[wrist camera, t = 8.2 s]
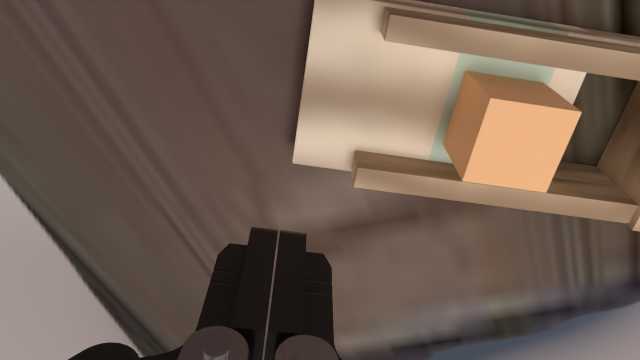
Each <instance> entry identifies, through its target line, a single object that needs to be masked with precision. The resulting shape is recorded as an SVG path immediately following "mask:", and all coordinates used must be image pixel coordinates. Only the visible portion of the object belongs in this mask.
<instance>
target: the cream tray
mask: <svg viewBox="0 0 640 360" xmlns="http://www.w3.org/2000/svg"><path fill="white" fill-rule="evenodd" d="M465 70H466V71H472V72H479V73H485V74H492V75H498V76H504V77H511V78H517V79H524V80H530V81H537V82H543V83H545V84H546V85H547V86H549V87H550V88H551V89H553V90H554V91H555V92H557V93H558V94H559V95H560V96H562V97H563V98H564V99H566V100H567V101H568V102H570V103H571V104H572V105H573V103H574V101H575V98H576V96H577V94H578V91H579V89H580V87H581V84H582V82H583V80H584V77H585V75H586V73H593V74H599V75H606V76H612V77H619V78H625V79H631V80H638V82H637V84H636V86H635V88H634V90H633V92H632V94H631V96H630V98H629V100H628V102H627V104H626V107H625V109H624V111H623V113H622V115H621V117H620V119H619V121H618V123H617V125H616V127H615V129H614V131H613V133H612V135H611V137H610V139H609V142H608V144H607V146H606V148H605V150H604V152H603V154H602V156H601V158H600V160H599V162H598V164H597V166H590V165H583V164H576V163H569V162H562V161H560V163H559V165H558V167H557V169H556V172H555V174H554V176H553V178H552V181H551V183H550V185H549V187H548V190H547V192H546V193H544V192H537V191H529V190H522V189H515V188H508V187H500V186H493V185H486V184H479V183H472V182H464V181H462V180H461V178H460V176H459V174H458V172H457V170H456V168H455V167H454V165H453V163H452V161H451V159H450V157H449V155H448V153H447V151H446V150H445V148H444V146H443V141H444V138H445V135H446V132H447V128H448V125H449V122H450V119H451V115H452V112H453V109H454V106H455V102H456V99H457V96H458V93H459V89H460V86H461V83H462V79H463V76H464V73H465ZM292 163H294V164H301V165H309V166H316V167H324V168H331V169H339V170H346V171H352V178H353V186H354V187H357V188H365V189H373V190H380V191H388V192H395V193H403V194H410V195H418V196H425V197H433V198H441V199H448V200H456V201H463V202H471V203H478V204H486V205H493V206H501V207H509V208H516V209H524V210H531V211H539V212H546V213H554V214H561V215H569V216H577V217H584V218H592V219H599V220H607V221H614V222H622V223H625V224H626V225H627V226H628V227H629V228H630V229H631V230H634V231H640V37H637V36H630V35H624V34H618V33H612V32H606V31H600V30H593V29H587V28H581V27H575V26H569V25H563V24H557V23H550V22H544V21H538V20H532V19H526V18H520V17H513V16H507V15H501V14H495V13H489V12H483V11H477V10H470V9H464V8H458V7H452V6H446V5H440V4H433V3H427V2H421V1H415V0H314V7H313V14H312V22H311V29H310V36H309V43H308V50H307V58H306V65H305V72H304V79H303V87H302V94H301V101H300V108H299V115H298V123H297V130H296V137H295V144H294V153H293V162H292Z"/></svg>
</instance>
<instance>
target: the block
mask: <svg viewBox="0 0 640 360" xmlns="http://www.w3.org/2000/svg"><path fill="white" fill-rule="evenodd" d="M581 113H582V112H581V111H580V110H579V109H577V108H576V107H575V106H574V105H572V104H571V103H570V102H568V101H567V100H566V99H564V98H563V97H562V96H560V95H559V94H558V93H557V92H555V91H554V90H553V89H551V88H550V87H549V86H547V85H546V84H545V83H543V82H537V81H530V80H524V79H517V78H511V77H504V76H498V75H492V74H485V73H479V72H472V71H466V70H465V73H464V76H463V79H462V83H461V86H460V89H459V93H458V96H457V99H456V102H455V106H454V109H453V112H452V115H451V119H450V122H449V125H448V128H447V132H446V135H445V138H444V141H443V146H444V148H445V150H446V151H447V153H448V155H449V157H450V159H451V161H452V163H453V165H454V167H455V168H456V170H457V172H458V174H459V176H460V178H461V180H462V181H464V182H472V183H479V184H486V185H493V186H500V187H508V188H515V189H522V190H529V191H537V192H544V193H546V192H547V190H548V187H549V185H550V183H551V181H552V178H553V176H554V174H555V172H556V169H557V167H558V165H559V163H560V160H561V158H562V156H563V154H564V151H565V149H566V147H567V145H568V142H569V140H570V138H571V136H572V133H573V131H574V129H575V127H576V124H577V122H578V120H579V118H580V115H581Z"/></svg>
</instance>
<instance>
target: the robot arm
mask: <svg viewBox="0 0 640 360" xmlns="http://www.w3.org/2000/svg"><path fill="white" fill-rule="evenodd" d="M277 233H278V230H273V229H264V228H256V227H252V228H251V231H250V236H249V241H248V245H239V244H230V243H229V244H228V245H227V246H226V247H225V248H224V249H223V250H222V251H221V252H220V253H219V254H218V257H217V260H216V263H215V267H214V272H213V274H212V277H211V281H210V284H209V288H208V291H207V294H206V298H205V301H204V305H203V308H202V312H201V315H200V318H199V322H198V325H197V328H196V331H195V333H193V334H192V335H191V336H190V337H189V338H188V339H187V340H186V341H185V343H184V345H182V346H181V347H179V348H177V349H175V350H173V351H170V352H167V353H163V354H159V355H153V356H148V357H142V358H139V356H138V354H137V353H136V352H135V350H133V349H132V348H131V347H129V346H127V345H124V344H121V343H102V344H98V345H95V346H92V347H90V348H87V349H86V350H84V351H82V352H80V353H78V354H77V355H75V356H74V357H72V358H70V359H68V360H262V353H263V345H264V338H265V330H266V322H267V314H268V306H269V299H270V291H271V283H272V275H273V266H274V258H275V250H276V242H277ZM264 360H342V359H341V358H340V356H339V355H338V353H337V351H336V349H335V346H334V334H333V302H332V269H331V266H330V264H329V262H328V261H327V259H326V257H325V256H324V254H320V253H311V252H306V233H300V232H291V231H283V230H280V237H279V245H278V253H277V261H276V269H275V277H274V285H273V293H272V301H271V309H270V317H269V326H268V334H267V342H266V350H265V358H264Z"/></svg>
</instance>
